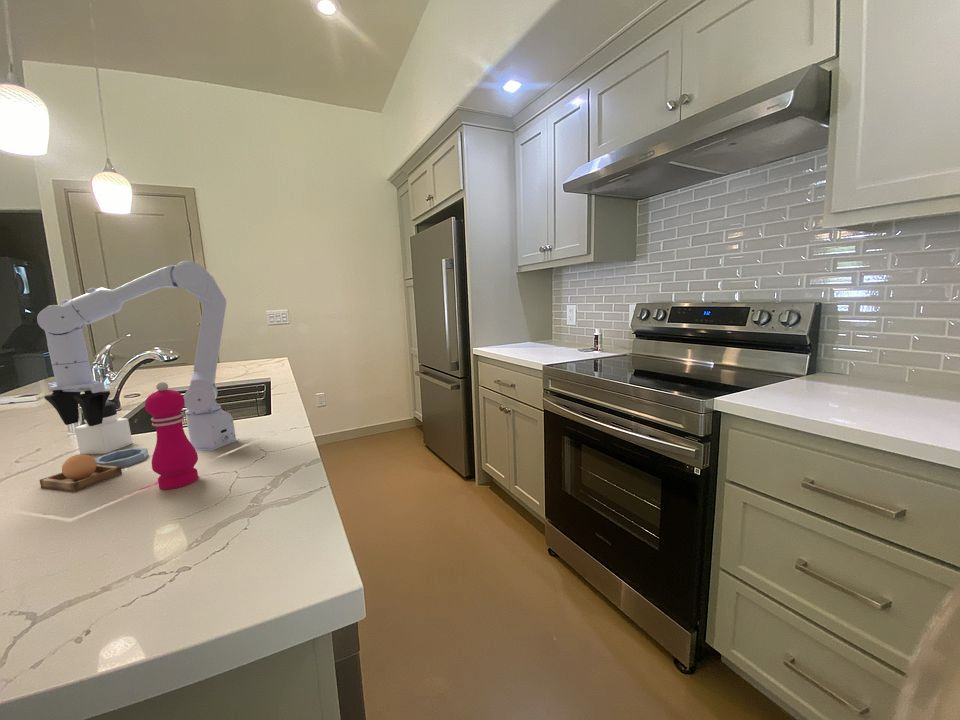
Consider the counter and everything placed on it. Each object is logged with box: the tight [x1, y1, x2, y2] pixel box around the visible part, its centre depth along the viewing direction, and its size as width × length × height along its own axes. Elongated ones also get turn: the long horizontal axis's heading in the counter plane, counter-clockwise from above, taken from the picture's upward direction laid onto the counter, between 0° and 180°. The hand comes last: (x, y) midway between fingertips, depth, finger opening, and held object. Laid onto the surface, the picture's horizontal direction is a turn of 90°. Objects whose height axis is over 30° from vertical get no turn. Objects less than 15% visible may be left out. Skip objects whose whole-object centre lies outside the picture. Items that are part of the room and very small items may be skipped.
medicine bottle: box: [74, 401, 133, 455], centre depth 101 cm, size 7×7×12 cm
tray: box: [39, 464, 123, 493], centre depth 83 cm, size 10×8×2 cm
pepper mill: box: [144, 381, 199, 490], centre depth 79 cm, size 7×7×20 cm
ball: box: [61, 453, 97, 480], centre depth 82 cm, size 5×5×5 cm
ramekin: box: [94, 447, 149, 468], centre depth 92 cm, size 9×9×2 cm
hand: (83, 424), depth 90 cm, fingers open, 7 cm apart
